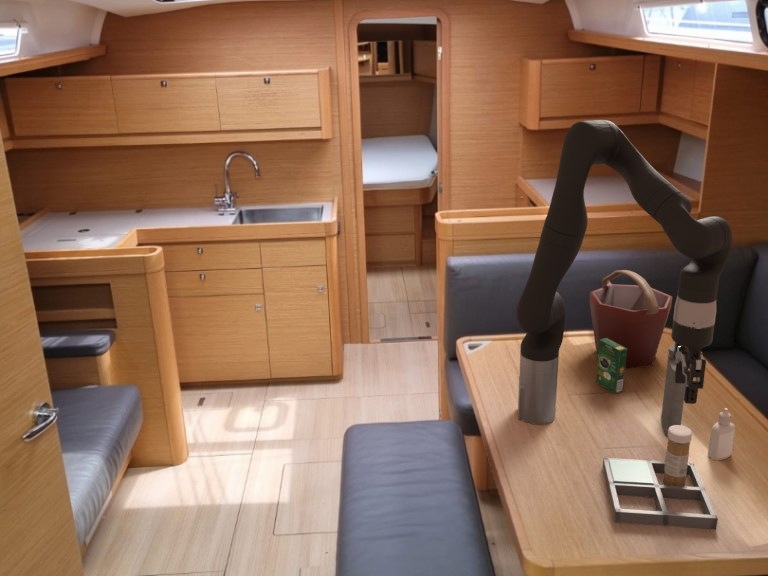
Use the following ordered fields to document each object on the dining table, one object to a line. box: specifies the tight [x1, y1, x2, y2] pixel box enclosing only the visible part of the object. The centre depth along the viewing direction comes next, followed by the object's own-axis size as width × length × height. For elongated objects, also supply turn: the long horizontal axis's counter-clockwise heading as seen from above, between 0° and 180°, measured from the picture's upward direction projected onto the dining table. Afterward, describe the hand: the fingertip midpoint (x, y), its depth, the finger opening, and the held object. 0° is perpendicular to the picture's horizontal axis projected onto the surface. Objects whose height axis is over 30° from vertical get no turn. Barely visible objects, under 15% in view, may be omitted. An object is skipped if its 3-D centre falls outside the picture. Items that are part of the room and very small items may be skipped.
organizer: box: [602, 457, 719, 530], centre depth 151 cm, size 19×19×3 cm
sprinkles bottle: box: [662, 424, 693, 486], centre depth 152 cm, size 5×5×14 cm
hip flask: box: [660, 344, 686, 439], centre depth 175 cm, size 16×4×20 cm, turn 162°
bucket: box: [589, 269, 673, 370], centre depth 210 cm, size 24×22×25 cm
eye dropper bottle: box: [707, 407, 736, 461], centre depth 162 cm, size 4×6×12 cm
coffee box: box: [595, 338, 627, 395], centre depth 194 cm, size 8×3×13 cm, turn 26°
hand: (684, 392), depth 147 cm, fingers open, 8 cm apart
